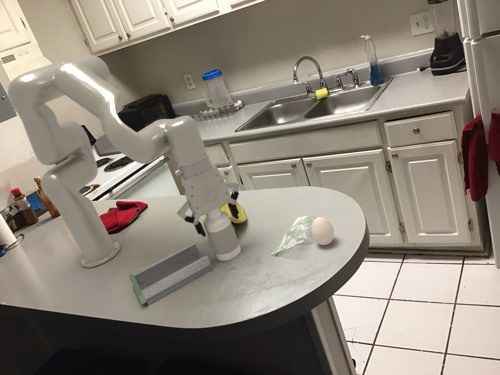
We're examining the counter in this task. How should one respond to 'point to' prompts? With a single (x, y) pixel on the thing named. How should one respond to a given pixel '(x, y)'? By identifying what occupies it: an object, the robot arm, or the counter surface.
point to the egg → (322, 231)
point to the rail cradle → (170, 274)
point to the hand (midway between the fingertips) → (219, 226)
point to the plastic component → (241, 216)
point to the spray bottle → (221, 234)
